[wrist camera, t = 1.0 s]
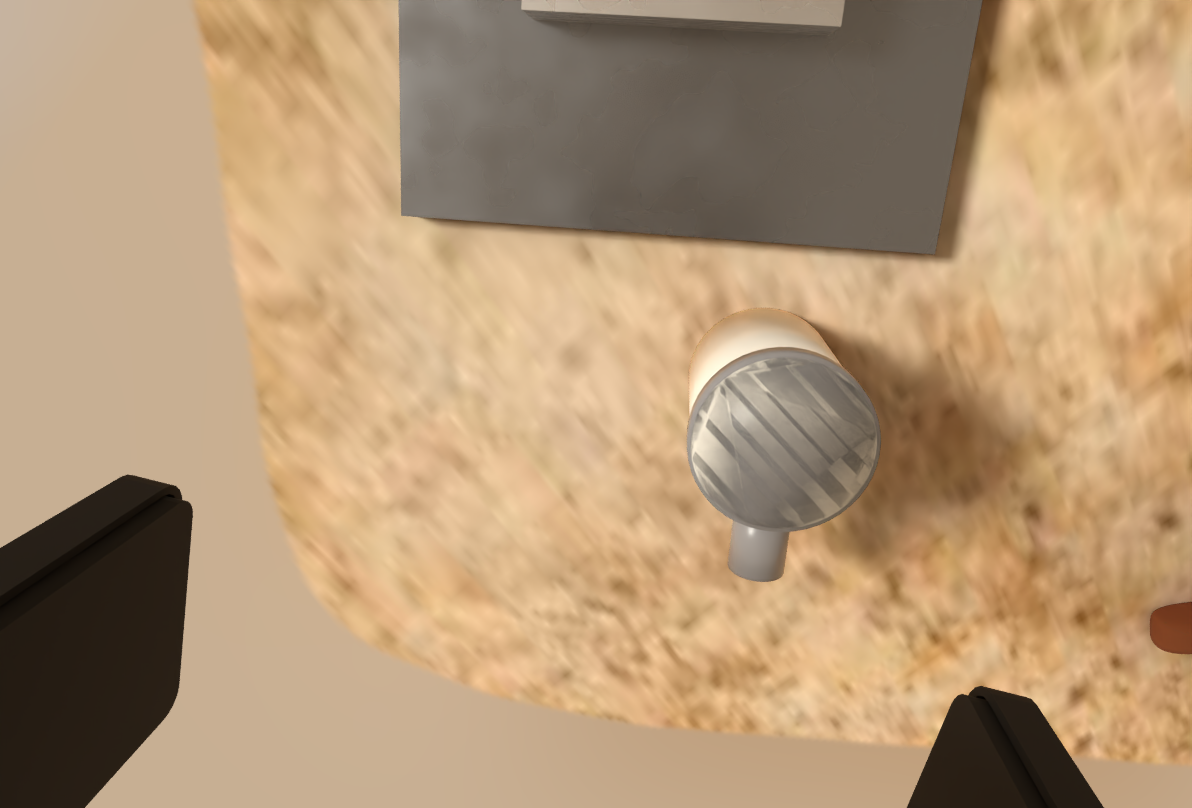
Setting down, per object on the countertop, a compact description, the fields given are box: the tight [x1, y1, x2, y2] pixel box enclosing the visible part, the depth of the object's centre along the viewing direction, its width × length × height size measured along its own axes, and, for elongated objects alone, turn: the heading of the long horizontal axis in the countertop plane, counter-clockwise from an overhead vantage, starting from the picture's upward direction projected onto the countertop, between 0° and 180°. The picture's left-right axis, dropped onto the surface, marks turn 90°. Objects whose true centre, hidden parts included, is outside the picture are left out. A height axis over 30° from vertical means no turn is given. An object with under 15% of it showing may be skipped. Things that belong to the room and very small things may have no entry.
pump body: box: [687, 308, 881, 582], centre depth 27 cm, size 5×8×7 cm
